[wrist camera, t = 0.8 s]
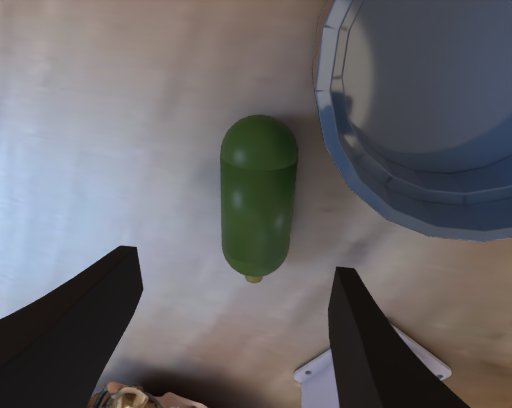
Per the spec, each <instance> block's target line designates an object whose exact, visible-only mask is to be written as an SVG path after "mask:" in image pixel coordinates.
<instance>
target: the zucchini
mask: <svg viewBox="0 0 512 408" xmlns="http://www.w3.org/2000/svg"><path fill="white" fill-rule="evenodd" d="M297 161H298V148H297V144H296V140H295V138H294V136H293V134H292V132H291V131H290V130H289V128H288V127H287V126H286V125H284V124H283V123H282V122H281V121H279V120H277V119H275V118H273V117H270V116H266V115H252V116H248V117H246V118H243V119H241V120H239V121H238V122H236V123H235V124H234V125H233V126H232V127H231V128H230V129H229V130H228V132H227V133H226V135H225V137H224V139H223V142H222V145H221V154H220V164H221V230H222V250H223V253H224V256H225V259H226V260H227V262H228V263H229V265H230V266H231V267H232V268H233V269H234V270H236V271H237V272H239V273H240V274H243V275H245V278H246V280H247V281H248V282H250V283H258V282H260V281H261V280H262V278H263V276H265V275H268V274H270V273H272V272H274V271H275V270H276V269H278V268H279V267H280V266H281V264H282V263H283V262H284V260H285V258H286V256H287V253H288V249H289V241H290V231H291V221H292V211H293V201H294V191H295V181H296V171H297Z"/></svg>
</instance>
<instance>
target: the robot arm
mask: <svg viewBox="0 0 512 408" xmlns="http://www.w3.org/2000/svg"><path fill="white" fill-rule="evenodd" d="M142 292H143V283H142V277H141V271H140V265H139V258H138V252H137V247H131V246H119V247H117V248H116V249H114V250H113V251H111V252H110V253H108V254H107V255H106V256H104V257H103V258H101V259H100V260H98V261H97V262H95V263H94V264H93V265H91V266H90V267H88V268H87V269H85V270H84V271H82V272H81V273H79V274H78V275H77V276H75V277H74V278H72V279H71V280H69V281H67V282H66V283H64V284H63V285H61V286H59V287H58V288H56V289H55V290H53V291H51V292H50V293H48V294H47V295H45V296H43V297H42V298H40V299H38V300H36V301H35V302H33V303H31V304H29V305H27V306H25V307H24V308H22V309H20V310H18V311H16V312H14V313H12V314H10V315H8V316H6V317H4V318H2V319H0V408H86V407H87V405H88V403H89V400H90V398H91V396H92V393H93V391H94V389H95V386H96V384H97V382H98V380H99V378H100V376H101V374H102V372H103V370H104V368H105V366H106V364H107V362H108V361H109V359H110V357H111V355H112V353H113V352H114V350H115V348H116V346H117V344H118V342H119V341H120V339H121V337H122V335H123V333H124V332H125V330H126V328H127V326H128V324H129V322H130V320H131V319H132V317H133V315H134V312H135V310H136V307H137V305H138V303H139V300H140V297H141V294H142ZM328 323H329V340H330V347H331V349H329V350H328V351H326V352H325V353H323V354H321V355H320V356H318V357H317V358H315V359H314V360H312V361H311V362H309V363H308V364H306V365H304V366H303V367H301V368H300V369H298V370H297V371H295V372H294V379H295V380H296V381H298V382H300V383H301V408H470V407H469V406H468V405H467V404H466V403H464V402H463V401H462V400H461V399H460V398H459V397H458V396H457V395H456V394H454V393H453V392H452V391H451V390H450V389H449V388H448V387H447V386H446V385H445V384H444V383H443V382H442V381H441V380H443V379H445V378H447V377H449V376H451V374H452V371H451V369H450V367H448V366H447V365H446V364H444V363H443V362H442V361H440V360H439V359H438V358H436V357H435V356H434V355H432V354H431V353H430V352H428V351H427V350H426V349H424V348H423V347H422V346H420V345H419V344H418V343H416V342H415V341H414V340H412V339H411V338H410V337H408V336H407V335H406V334H404V333H403V332H402V331H400V330H399V329H398V328H396V327H395V326H393V325H392V324H391V323H390V322H389V321H388V320H387V318H386V317H385V315H384V314H383V312H382V311H381V310H380V308H379V307H378V305H377V304H376V302H375V301H374V299H373V298H372V296H371V295H370V293H369V291H368V290H367V288H366V287H365V285H364V283H363V282H362V280H361V278H360V276H359V275H358V273H357V271H356V270H355V269H354V268H345V267H336V271H335V276H334V281H333V286H332V292H331V297H330V302H329V307H328Z"/></svg>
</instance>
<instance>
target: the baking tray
mask: <svg viewBox="0 0 512 408" xmlns="http://www.w3.org/2000/svg"><path fill="white" fill-rule="evenodd" d="M104 387H105V389H103V390H104V391H102V392H100V393H97V394H95V395H94V396H93V397H92V398H91V399H90V400H89V403H88V405H87V407H86V408H207V407H206V406H205V405H203V404H201V403H197V402H194V401H191V400H188V399H185V398H182V397H180V396H177V395H175V394H173V393H171V392H169V393H165V395H164V396H162V397H154V396H152V395H151V394H149V393H147V392H143V391H142V390H143V388H142V387H141V386H139V385H132V386H131V387H129V386H127V385H124V384H119V383H115V382H112V381H111V383H108V385H105V386H104Z"/></svg>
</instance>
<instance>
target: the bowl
mask: <svg viewBox="0 0 512 408" xmlns="http://www.w3.org/2000/svg"><path fill="white" fill-rule="evenodd" d="M318 20H319V21H318V23H317V31H316V39H315V48H314V56H313V64H312V77H313V84H314V90H315V96H316V102H317V107H318V112H319V118H320V123H321V129H322V134H323V139H324V145H325V147H326V149H327V151H328V153H329V154H330V156H331V158H332V160H333V161H334V163H335V165H336V167H337V168H338V170H339V172H340V173H341V175H342V177H343V179H344V180H345V182H346V184H347V186H348V187H349V188H350V190H351V191H353V192H354V193H355V194H356V195H357V196H359V197H360V198H361V199H362V200H363V201H365V202H366V203H367V204H368V205H369V206H370V207H372V208H373V209H374V210H375V211H376V212H378V213H379V214H380V215H381V216H382V217H384V218H386V220H389V221H391V222H394V223H396V224H399V225H401V226H404V227H406V228H409V229H411V230H414V231H416V232H419V233H421V234H424V235H426V236H429V237H430V236H431V237H437V238H446V239H456V240H466V241H476V242H481V241H482V242H486V241H494V240H501V239H508V238H512V0H326V2H325V4H324V7H323V9H322V12H321V14H320V16H319V19H318Z"/></svg>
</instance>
